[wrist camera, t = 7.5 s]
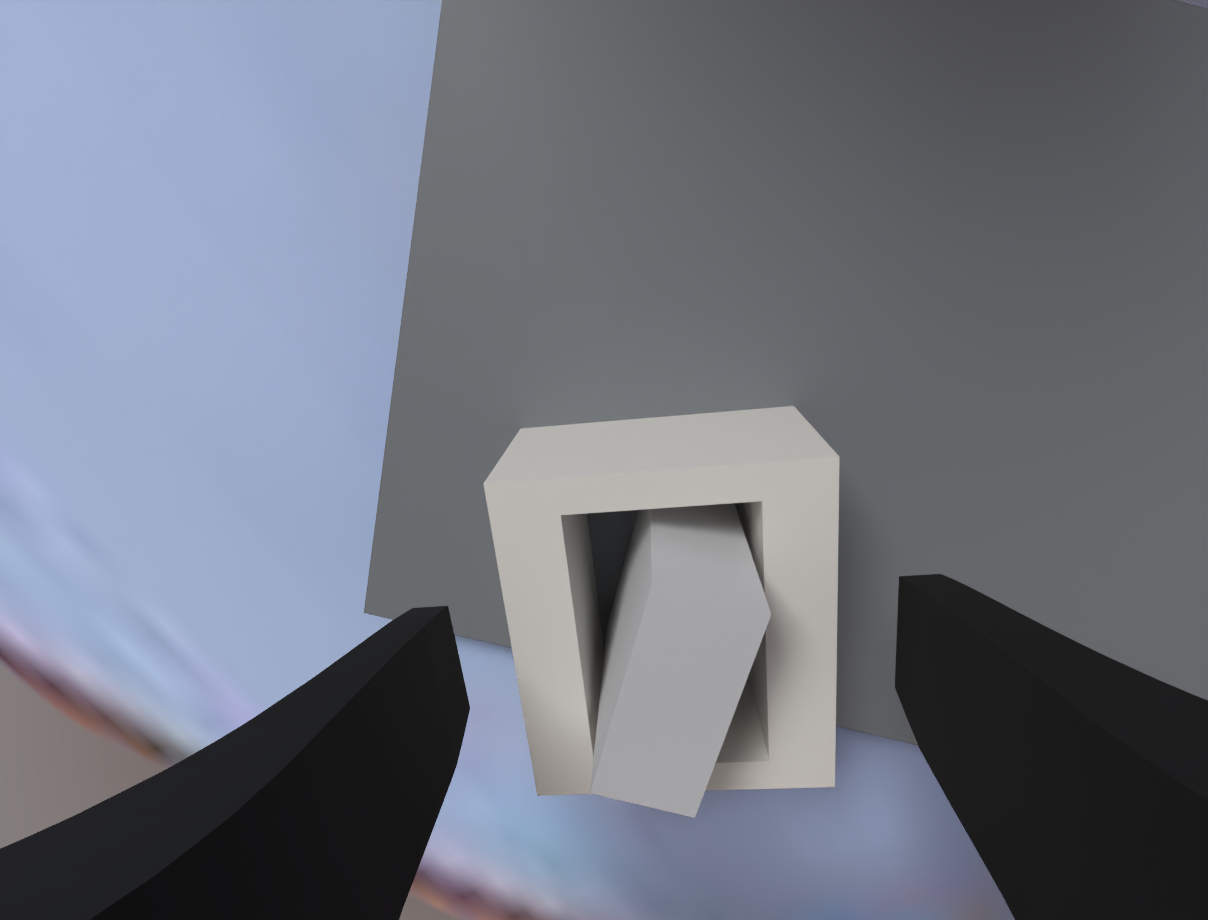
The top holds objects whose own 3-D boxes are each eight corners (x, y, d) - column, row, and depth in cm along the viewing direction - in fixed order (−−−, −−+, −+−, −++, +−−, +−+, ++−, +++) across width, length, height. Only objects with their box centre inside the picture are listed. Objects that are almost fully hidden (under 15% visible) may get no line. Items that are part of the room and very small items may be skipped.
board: (1647, 157, 11) (2585, 77, 6) (1201, 785, 15) (1485, 1065, 10) (482, -146, 10) (318, -531, 5) (381, 589, 15) (241, 774, 10)
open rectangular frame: (793, 405, 12) (840, 457, 9) (796, 675, 14) (834, 786, 11) (520, 428, 12) (483, 483, 10) (558, 686, 14) (537, 795, 12)
